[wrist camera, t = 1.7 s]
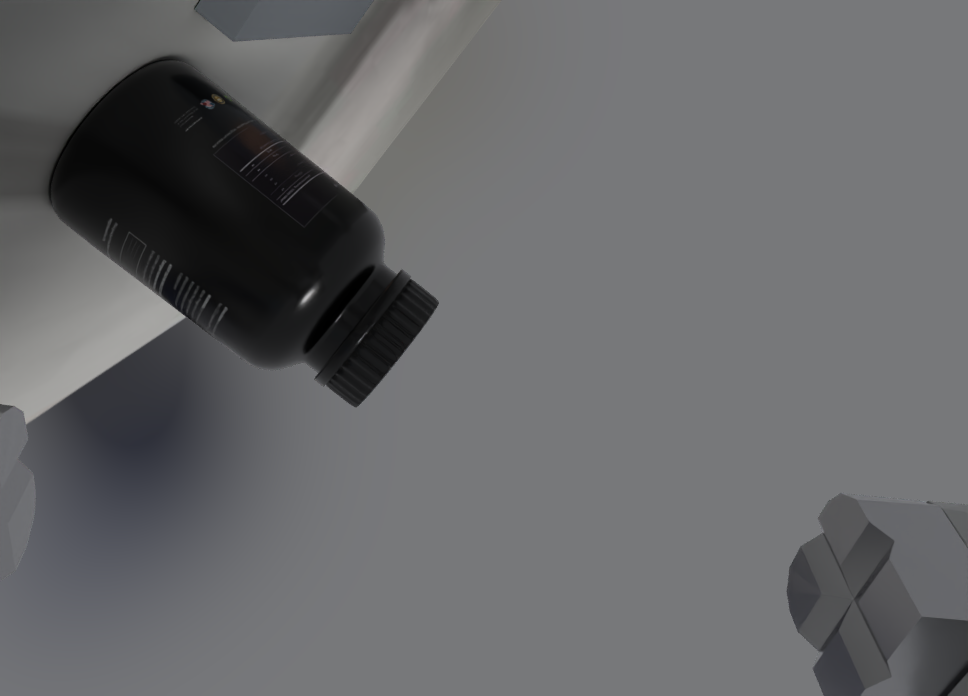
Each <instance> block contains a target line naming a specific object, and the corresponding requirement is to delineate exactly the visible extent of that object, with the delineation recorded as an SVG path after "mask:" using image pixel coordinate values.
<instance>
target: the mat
mask: <svg viewBox="0 0 968 696" xmlns="http://www.w3.org/2000/svg"><path fill="white" fill-rule="evenodd" d="M373 1H374V0H200V1H199V3H198V5H197V6H196V8H195V10H196V11H197V12H198V13H200V14H201V15H202V16H203V17H204V18H205V19H207V20H208V21H209V22H210V23H211V24H213V25H214V26H215V27H216V28H217V29H219V30H220V31H221V32H222V33H223V34H224V35H226V36H227V37H228V38H229V39H230V40H232V41H233V42H234V41H248V40H263V39H277V38H292V37H306V36H321V35H335V34H349V33H351V32H352V31H353V29H354V28H355V27H356V25H357V24H358V22H359V21H360V19H361V18H362V17H363V15H364V14H365V12H366V11H367V9H368V8H369V6H370V5H371V4H372V2H373Z"/></svg>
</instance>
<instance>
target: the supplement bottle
mask: <svg viewBox="0 0 968 696" xmlns="http://www.w3.org/2000/svg"><path fill="white" fill-rule="evenodd" d="M51 201H52V205H53V208H54V210H55V212H56V214H57V216H58V217H59V218H60V219H61V220H62V221H63V222H64V223H65V224H66V225H67V226H69V227H70V228H71V229H72V230H74V231H75V232H76V233H77V234H79V235H80V236H81V237H83V238H84V239H85V240H86V241H88V242H89V243H90V244H91V245H93V246H94V247H95V248H97V249H98V250H99V251H100V252H102V253H103V254H104V255H106V256H107V257H108V258H110V259H111V260H112V261H114V262H115V263H116V264H118V265H119V266H120V267H121V268H123V269H124V270H125V271H127V272H128V273H129V274H131V275H132V276H133V277H135V278H136V279H137V280H139V281H140V282H141V283H142V284H144V285H145V286H146V287H148V288H149V289H150V290H152V291H153V292H154V293H156V294H157V295H158V296H160V297H161V298H162V299H163V300H165V301H166V302H167V303H169V304H170V305H171V306H173V307H174V308H175V309H177V310H178V311H179V312H181V313H182V314H183V315H184V316H186V317H187V318H188V319H190V320H191V321H192V322H194V323H195V324H196V325H198V326H199V327H200V328H202V329H203V330H204V331H205V332H207V333H208V334H209V335H211V336H212V337H213V338H215V339H216V340H217V341H219V342H220V343H221V344H223V345H224V346H225V347H227V348H228V349H229V350H230V351H232V352H233V353H234V354H236V355H237V356H239V357H240V358H241V359H243V360H244V361H246V362H247V363H249V364H250V365H251V366H253V367H256V368H259V369H264V370H280V369H284V368H287V367H290V366H293V365H296V364H300V363H306V364H307V365H308V366H310V367H311V368H312V369H314V370H315V371H316V372H317V373H318V374H317V376H316V377H315V379H314V380H316V381H317V382H318V383H319V384H320V385H322V386H325V385H327V386H328V387H329V388H330V389H331V390H332V391H334V392H335V393H336V394H337V395H339V396H340V397H341V398H343V399H344V400H345V401H347V402H348V403H349V404H351V405H352V406H354V407H357V406H359V405H360V404H361V403H362V402H363V401H364V400H365V399H366V398H367V397H368V396H369V395H370V393H371V392H372V391H373V390H374V389H375V388H376V386H377V385H378V384H379V383H380V382H381V381H382V379H383V378H384V377H385V376H386V375H387V373H388V372H389V371H390V370H391V368H392V367H393V366H394V365H395V364H396V362H397V361H398V360H399V358H400V357H401V356H402V355H403V353H404V352H405V351H406V350H407V348H408V347H409V346H410V344H411V343H412V342H413V341H414V339H415V338H416V337H417V335H418V334H419V333H420V331H421V330H422V328H423V327H424V326H425V325H426V323H427V322H428V320H429V319H430V318H431V316H432V314H433V313H434V311H435V310H436V308H437V306H438V304H439V302H438V300H437V299H436V298H435V297H434V296H432V295H431V294H430V293H429V292H427V291H426V290H425V289H424V288H422V287H421V286H420V285H419V284H417V283H416V282H415V281H413V280H412V279H410V278H411V276H410V275H409V274H408V273H406V272H405V271H404V270H400V272H399V273H398V274H396V273H394V272H393V271H392V270H391V269H390V268H388V267H387V266H386V265H385V264H384V246H385V237H384V231H383V228H382V225H381V223H380V221H379V219H378V217H377V216H376V214H375V213H374V212H373V211H372V210H371V209H369V208H368V207H367V206H366V205H365V204H364V203H363V202H361V201H360V200H359V199H358V198H356V197H355V196H354V195H353V194H352V193H350V192H349V191H348V190H347V189H345V188H344V187H343V186H342V185H340V184H339V183H338V182H337V181H335V180H334V179H333V178H332V177H331V176H329V175H328V174H327V173H326V172H324V171H323V170H322V169H321V168H319V167H318V166H317V165H316V164H314V163H313V162H312V161H311V160H309V159H308V158H307V157H306V156H304V155H303V154H302V153H301V152H299V151H298V150H297V149H296V148H294V147H293V146H292V145H291V144H290V143H288V142H287V141H286V140H285V139H283V138H282V137H281V136H280V135H278V134H277V133H276V132H275V131H273V130H272V129H271V128H270V127H268V126H267V125H266V124H265V123H263V122H262V121H261V120H260V119H258V118H257V117H256V116H255V115H253V114H252V113H251V112H250V111H249V110H247V109H246V108H245V107H244V106H242V105H241V104H240V103H239V102H237V101H236V100H235V99H234V98H232V97H231V96H230V95H229V94H227V93H226V92H225V91H224V90H222V89H221V88H220V87H219V86H217V85H216V84H215V83H213V82H212V81H211V80H210V79H208V78H207V77H206V76H204V75H203V74H202V73H201V72H199V71H198V70H197V69H195V68H194V67H192V66H191V65H189V64H187V63H185V62H181V61H177V60H164V61H158V62H155V63H152V64H150V65H148V66H146V67H144V68H142V69H140V70H138V71H137V72H135V73H134V74H132V75H131V76H129V77H128V78H127V79H125V80H124V81H123V82H121V83H120V84H119V85H118V86H117V87H115V88H114V89H113V90H112V91H111V92H110V93H109V94H108V95H107V96H106V97H105V98H104V99H103V100H102V101H101V102H100V103H99V104H98V105H97V106H96V107H95V108H94V110H93V111H92V112H91V113H90V114H89V115H88V117H87V118H86V119H85V120H84V122H83V123H82V124H81V126H80V127H79V128H78V130H77V131H76V133H75V134H74V136H73V137H72V139H71V140H70V142H69V143H68V145H67V147H66V149H65V150H64V152H63V154H62V156H61V158H60V160H59V162H58V165H57V167H56V170H55V173H54V176H53V179H52V184H51Z"/></svg>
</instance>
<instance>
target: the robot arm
mask: <svg viewBox="0 0 968 696" xmlns="http://www.w3.org/2000/svg"><path fill="white" fill-rule="evenodd" d="M27 440H28V434H27V429H26V423H25V418H24V413H23V411H21V410H20V409H18V408H17V407H15V406H10V405H2V404H0V581H2V580H3V579H5V578H6V577H8V576H9V575H11V574H12V573H14V572H15V571H16V569H17V567H18V565H19V563H20V560H21V558H22V556H23V553H24V551H25V549H26V547H27V544H28V540H29V536H30V532H31V528H32V524H33V520H34V516H35V496H36V491H35V483H34V475H33V473H32V472H31V471H30V470H29V469H28V468H27V467H26V466H25V465H24V464H23V463H22V462H21V461H20V460H19V459H18V457H19V455H20V454H21V452H22V450H23V448H24V446H25V444H26V442H27ZM818 520H819V524H820V527H821V530H822V534H820V535H818V536H817V537H815V538H813V539H812V540H810V541H808V542H807V543H805V544H803V545H802V546H801V547H800V548H799V550H798V552H797V554H796V556H795V558H794V560H793V562H792V564H791V565H790V568H789V576H788V585H787V596H788V603H789V609H790V613H791V616H792V618H793V621H794V624H795V626H796V629H797V631H798V633H800V634H801V635H802V636H803V637H804V638H805V639H806V640H807V641H808V642H809V643H810V644H811V645H813V647H815V648H816V649H817V650H818V654H817V657H816V660H815V663H814V666H813V671H814V673H815V676H816V678H817V680H818V682H819V685H820V688H821V690H822V693H823V695H824V696H968V505H967V504H956V503H944V502H933V501H927V502H922V501H917V500H907V499H896V498H886V497H876V496H866V495H855V494H845V493H840V494H838V495H837V496H835V497H834V498H832V499H831V500H829V501H828V502H827V504H826V505H825V507H824V509H823V510H822V512H821V513H820V515H819V517H818Z"/></svg>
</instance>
